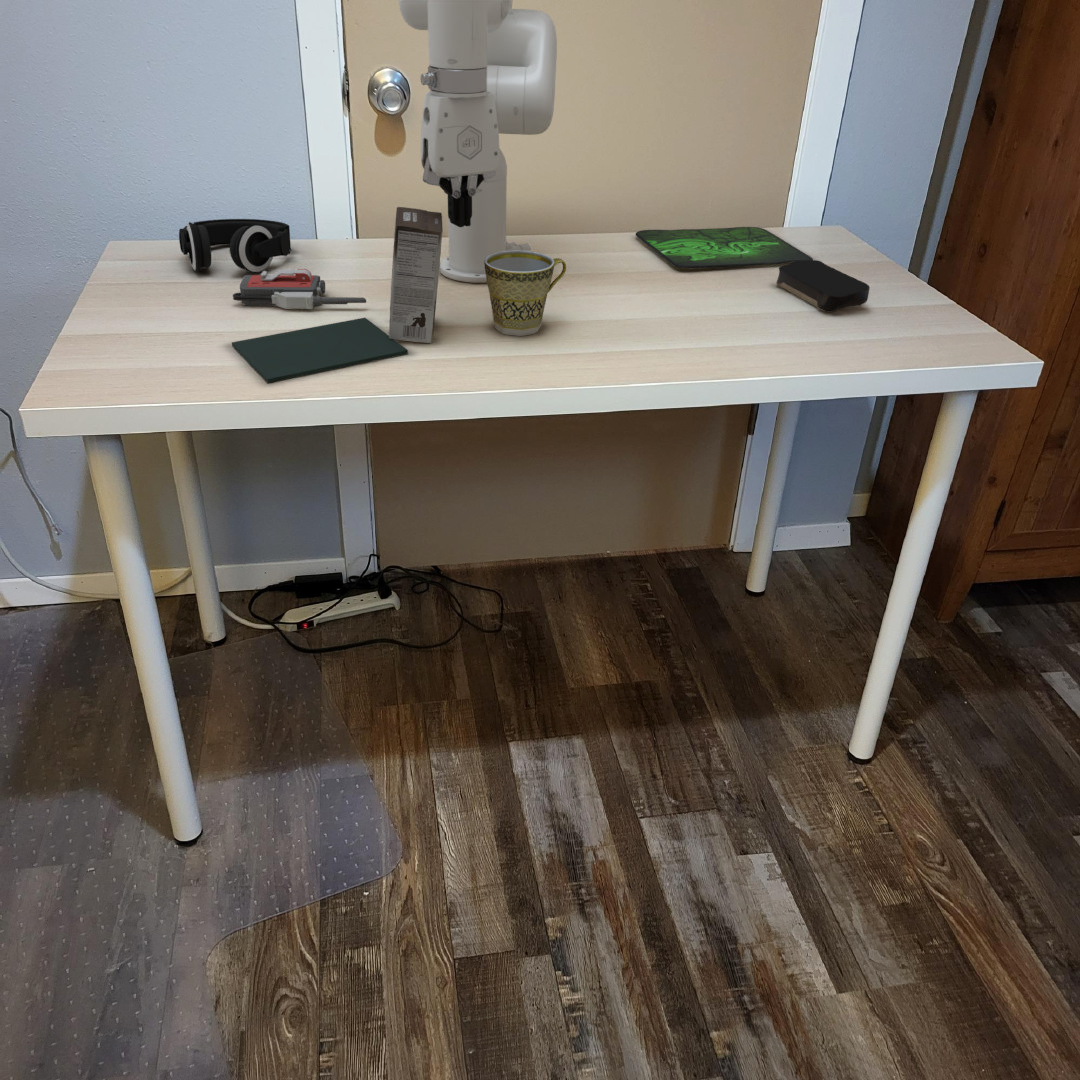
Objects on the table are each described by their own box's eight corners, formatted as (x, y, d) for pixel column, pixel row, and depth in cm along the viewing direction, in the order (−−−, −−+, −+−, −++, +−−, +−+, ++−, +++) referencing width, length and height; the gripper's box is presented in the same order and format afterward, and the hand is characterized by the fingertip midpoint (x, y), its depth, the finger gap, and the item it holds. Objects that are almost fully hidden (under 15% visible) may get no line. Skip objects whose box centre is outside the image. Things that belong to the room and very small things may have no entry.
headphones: (160, 225, 153) (195, 206, 171) (167, 276, 156) (200, 252, 174) (275, 228, 154) (297, 209, 172) (279, 279, 157) (301, 255, 175)
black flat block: (871, 311, 155) (876, 288, 153) (827, 316, 152) (832, 293, 150) (811, 279, 167) (815, 257, 165) (769, 283, 164) (772, 262, 162)
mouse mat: (760, 228, 192) (761, 222, 191) (818, 262, 174) (819, 257, 174) (631, 235, 185) (631, 230, 184) (677, 272, 167) (678, 266, 167)
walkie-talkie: (230, 311, 146) (366, 312, 147) (226, 282, 143) (364, 283, 145) (241, 291, 153) (370, 292, 155) (237, 263, 151) (368, 264, 152)
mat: (365, 321, 144) (365, 317, 144) (408, 353, 135) (407, 349, 134) (232, 346, 135) (231, 342, 135) (267, 383, 125) (267, 379, 125)
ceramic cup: (506, 345, 138) (507, 276, 133) (472, 322, 145) (471, 255, 140) (581, 329, 144) (585, 262, 139) (545, 308, 151) (547, 243, 146)
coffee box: (389, 316, 144) (396, 205, 136) (433, 320, 145) (442, 211, 137) (387, 339, 137) (394, 223, 128) (433, 344, 138) (443, 229, 129)
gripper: (420, 89, 121) (425, 238, 131) (522, 82, 128) (519, 224, 138) (393, 80, 126) (400, 224, 136) (492, 74, 133) (492, 212, 143)
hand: (460, 224), depth 137 cm, fingers closed
